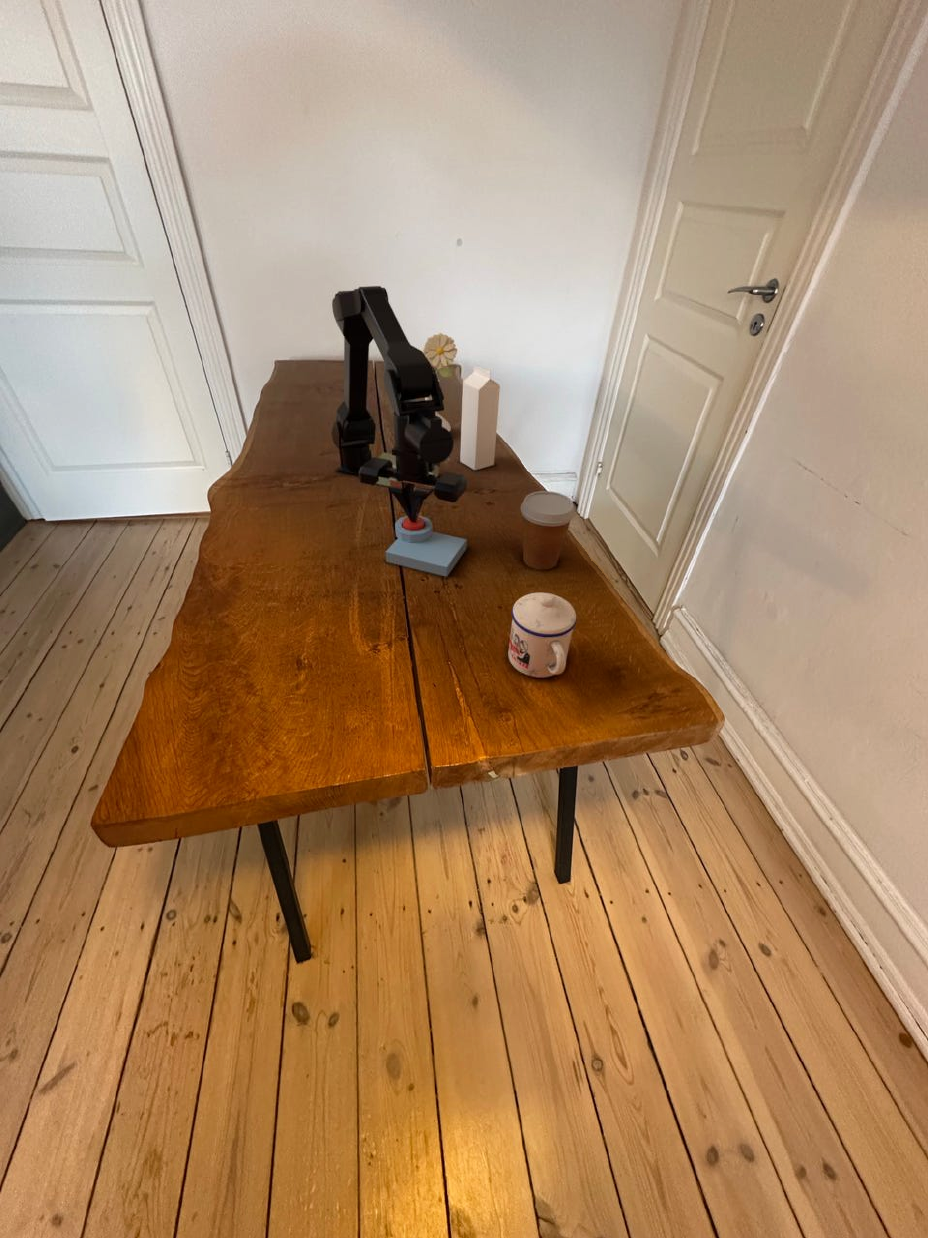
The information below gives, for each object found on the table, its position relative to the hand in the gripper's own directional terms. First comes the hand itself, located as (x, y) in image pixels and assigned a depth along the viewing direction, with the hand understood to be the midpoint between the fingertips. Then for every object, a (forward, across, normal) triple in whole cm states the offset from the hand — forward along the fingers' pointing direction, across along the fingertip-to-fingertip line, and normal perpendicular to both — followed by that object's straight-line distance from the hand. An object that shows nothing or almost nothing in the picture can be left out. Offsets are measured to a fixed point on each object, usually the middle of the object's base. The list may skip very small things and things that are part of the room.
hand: (413, 520), depth 102 cm
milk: (+5, +1, -39) cm, 39 cm away
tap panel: (+5, +14, -24) cm, 28 cm away
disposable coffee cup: (+5, -24, -4) cm, 25 cm away
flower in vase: (+5, +18, -51) cm, 54 cm away
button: (+2, 0, 0) cm, 2 cm away
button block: (+5, -3, +2) cm, 6 cm away
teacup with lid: (+5, -31, +23) cm, 39 cm away
